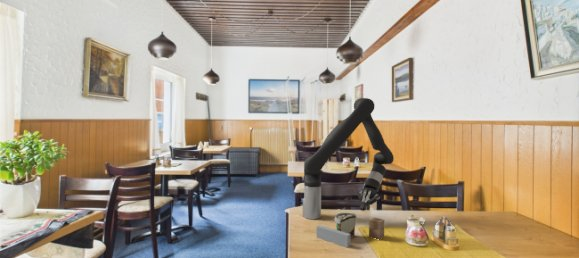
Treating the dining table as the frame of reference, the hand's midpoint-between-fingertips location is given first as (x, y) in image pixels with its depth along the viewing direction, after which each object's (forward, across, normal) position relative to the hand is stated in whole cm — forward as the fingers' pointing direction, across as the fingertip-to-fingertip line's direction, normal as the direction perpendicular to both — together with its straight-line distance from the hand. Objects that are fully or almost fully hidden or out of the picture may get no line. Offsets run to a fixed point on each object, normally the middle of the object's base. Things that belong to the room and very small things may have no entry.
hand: (362, 209), depth 149 cm
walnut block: (+12, +12, -1) cm, 17 cm away
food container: (+19, 0, -8) cm, 21 cm away
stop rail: (+24, 0, -13) cm, 28 cm away
